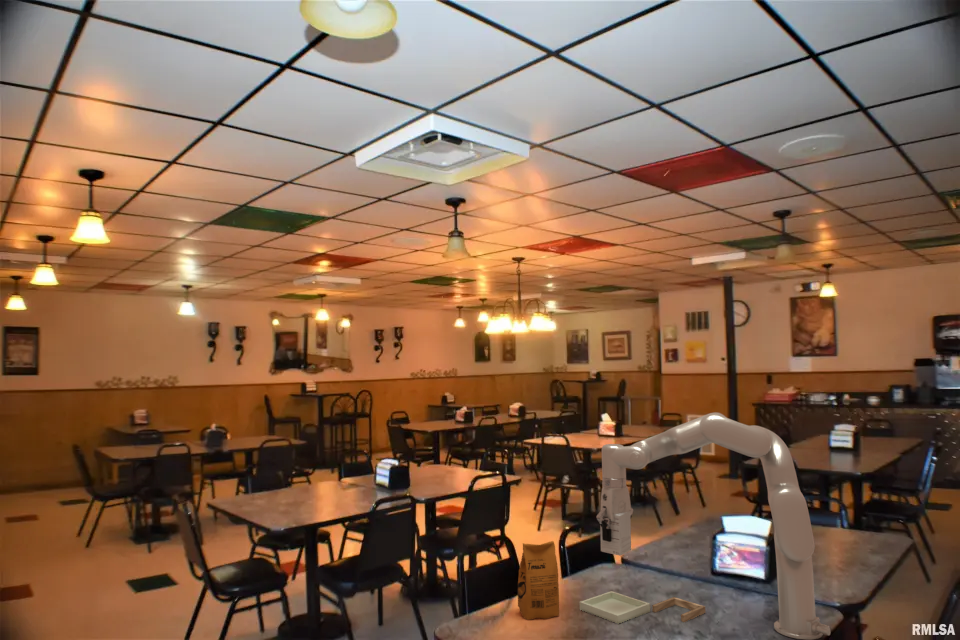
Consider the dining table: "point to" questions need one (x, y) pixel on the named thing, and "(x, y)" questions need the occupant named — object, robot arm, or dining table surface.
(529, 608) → the coffee package
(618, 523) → the supplement box
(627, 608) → the tray
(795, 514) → the robot arm
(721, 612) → the dining table surface
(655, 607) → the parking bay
